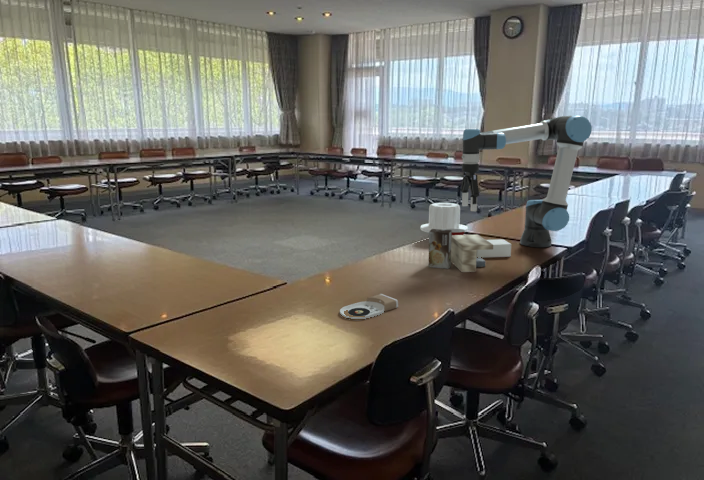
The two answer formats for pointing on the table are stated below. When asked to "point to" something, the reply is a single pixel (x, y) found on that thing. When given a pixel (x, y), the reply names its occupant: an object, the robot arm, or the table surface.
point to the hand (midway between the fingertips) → (469, 208)
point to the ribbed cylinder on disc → (443, 217)
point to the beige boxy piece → (468, 251)
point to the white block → (496, 249)
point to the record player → (370, 307)
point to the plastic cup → (457, 231)
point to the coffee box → (440, 248)
